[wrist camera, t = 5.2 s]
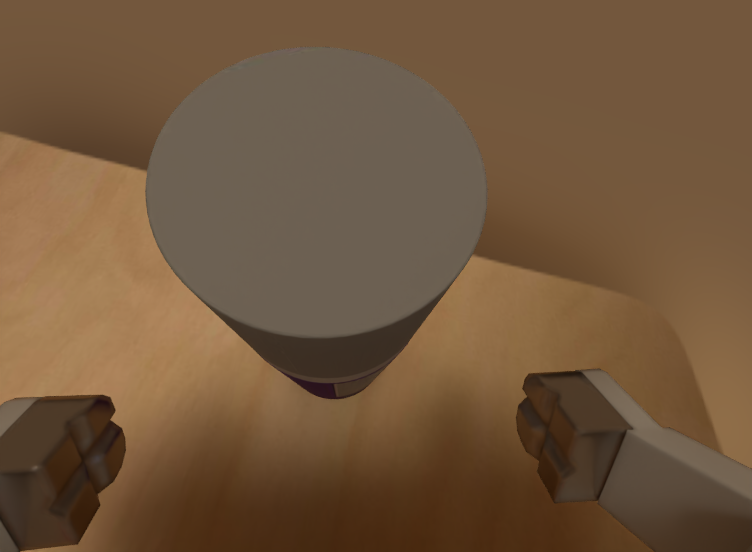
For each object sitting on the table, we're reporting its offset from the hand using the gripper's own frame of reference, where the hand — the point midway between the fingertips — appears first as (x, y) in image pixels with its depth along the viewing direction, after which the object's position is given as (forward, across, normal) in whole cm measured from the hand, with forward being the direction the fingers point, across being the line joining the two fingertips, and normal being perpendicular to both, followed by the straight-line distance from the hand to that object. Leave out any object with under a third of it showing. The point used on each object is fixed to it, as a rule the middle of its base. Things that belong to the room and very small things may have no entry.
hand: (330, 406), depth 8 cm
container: (+10, 0, +6) cm, 12 cm away
